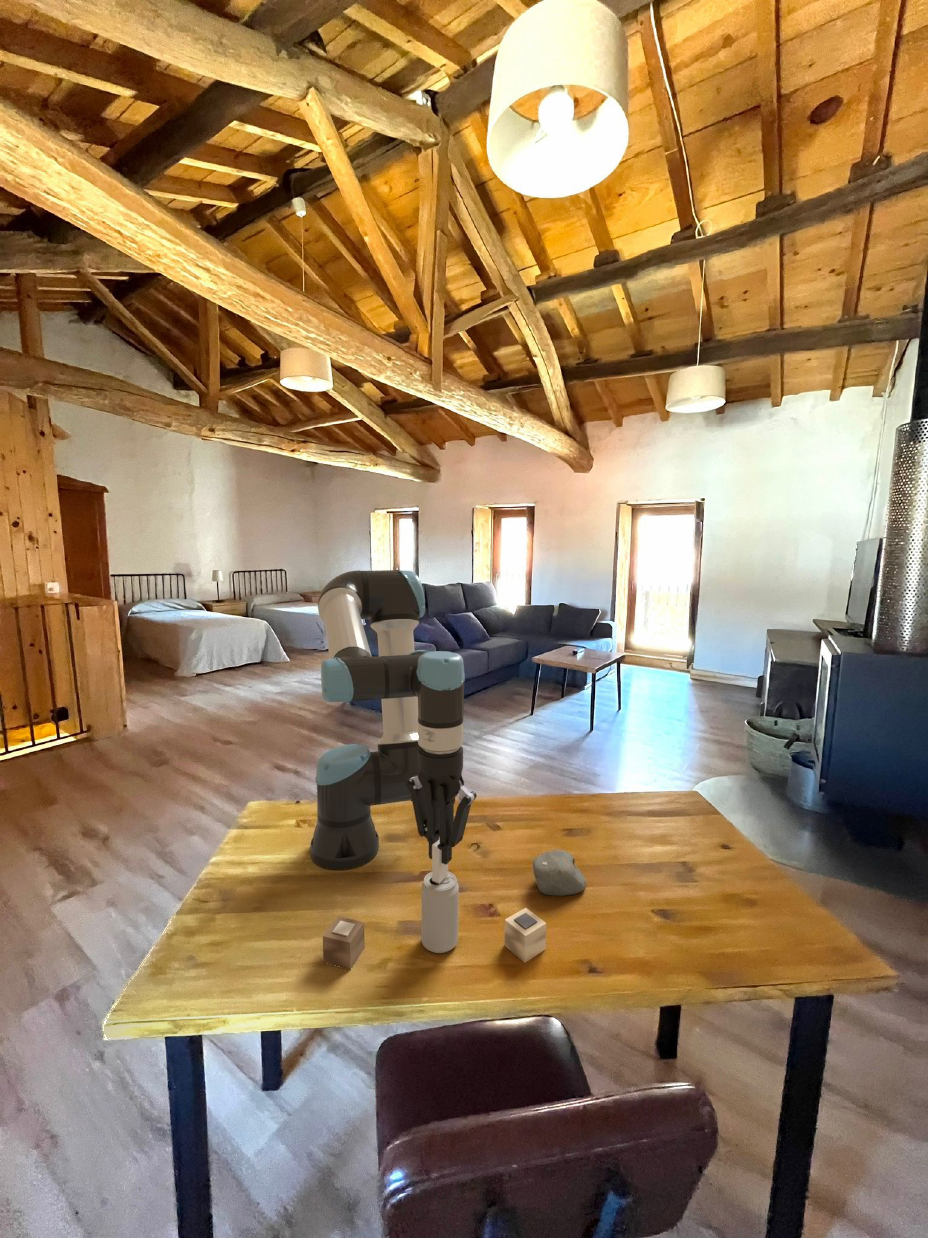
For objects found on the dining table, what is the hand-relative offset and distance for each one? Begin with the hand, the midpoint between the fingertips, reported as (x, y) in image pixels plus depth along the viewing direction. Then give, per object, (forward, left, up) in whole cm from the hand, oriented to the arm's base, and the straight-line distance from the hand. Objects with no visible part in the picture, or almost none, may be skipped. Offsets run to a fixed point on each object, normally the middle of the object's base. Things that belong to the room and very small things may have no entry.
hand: (440, 877), depth 92 cm
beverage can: (0, 0, -13) cm, 13 cm away
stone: (+12, +26, -13) cm, 31 cm away
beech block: (+13, +7, -12) cm, 19 cm away
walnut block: (-12, -11, -12) cm, 20 cm away
